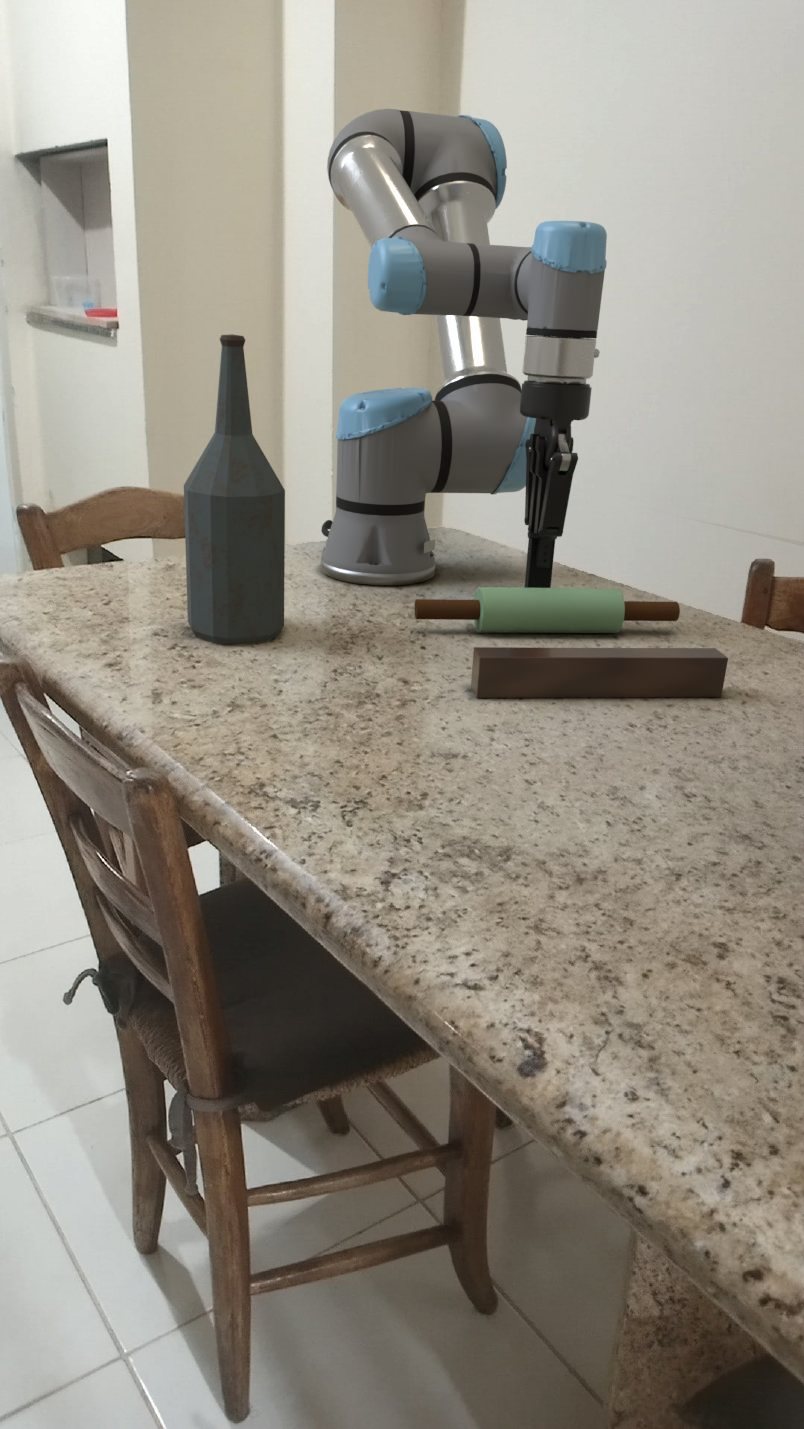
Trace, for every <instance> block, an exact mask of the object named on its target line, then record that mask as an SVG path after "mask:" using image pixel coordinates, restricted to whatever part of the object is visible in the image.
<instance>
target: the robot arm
mask: <svg viewBox="0 0 804 1429" xmlns="http://www.w3.org/2000/svg"><path fill="white" fill-rule="evenodd" d="M506 152H507V151H506V148H505V143H504V140H503V138H502V135H501V132H500V131H499V129H498V128H497V126H495V124H494V123H493V122H491V121H489V120H486V119H484V118H478V117H472V116H471V115H468V114H460V115H457V116H455V115H445V114H436V113H428V112H420V111H413V110H412V111H411V110H401V109H397V108H396V109H395V108H380V109H374V110H372V111H368V112H365V113H363V114H361V115H358V116H357V117H355V118H354V119H352V120H351V121H349V122H348V123H347V124H346V125H345V126H343V128H342V129H341V130H340V131H339V132H338V134H337V135H336V137H335V138H334V140H333V142H332V144H331V146H330V149H329V152H328V157H327V165H326V166H327V167H326V171H327V177H328V178H327V179H328V181H329V185H330V187H331V189H332V192H333V194H334V196H335V197H336V199H337V201H338V202H339V203H340V204H341V205H342V206H343V207H344V208H345V209H347V210H348V211H350V212H352V214H353V217H354V218H355V220H356V222H357V224H358V226H359V228H360V230H361V232H362V235H363V237H364V238H365V240H366V242H367V244H368V246H369V248H370V253H369V258H368V265H367V288H368V290H369V292H368V293H369V299H370V300H369V301H370V302H371V304H372V306H373V307H374V308H375V309H376V310H378V311H380V312H386V313H387V312H389V313H397V314H399V315H402V316H411V315H426V316H434V317H435V324H436V333H437V342H438V348H439V357H440V365H441V366H440V367H441V374H442V383H443V384H442V385H441V386H440V387H439V389H438V390H436V392H435V395H434V400H433V396H432V392H431V391H430V390H429V388H428V389H427V388H425V387H404V388H402V387H397V388H396V387H395V388H394V387H393V388H384V389H374V390H367V391H362V392H358V393H354V394H352V395H349V396H347V397H346V398H345V399H344V400H343V401H342V402H341V404H340V406H339V410H338V420H337V429H336V433H335V438H336V439H337V446H336V485H335V488H336V490H335V492H336V493H335V513H334V517H333V519H332V520H331V519H328V520H325V521H324V522H323V523H322V526H321V534H322V535H323V536H324V537H326V538H327V539H326V542H325V546H324V547H323V549H322V552H321V556H320V571H321V572H322V573H323V574H325V575H326V576H328V577H330V578H333V579H335V580H339V581H343V582H347V583H353V584H360V585H368V586H369V585H371V586H401V585H403V586H404V585H412V584H418V583H422V582H425V581H428V580H430V579H432V578H433V577H434V576H435V574H436V557H435V554H434V552H433V551H435V549H436V538H434V539H430V534H429V530H428V525H427V522H426V517H425V511H426V510H425V509H426V498H427V497H426V495H427V494H490V495H493V496H494V495H497V494H501V493H502V494H503V493H505V494H507V493H516V492H520V491H522V490H523V489H525V500H524V502H525V503H524V504H525V505H524V526H527V538H528V541H527V542H528V543H527V553H526V566H525V575H524V585H523V586H524V587H523V588H552V577H553V576H552V575H553V568H554V556H555V549H556V548H555V547H556V540H557V539H558V537H559V538H561V537H562V536H563V533H564V528H565V522H566V516H567V513H568V512H567V511H568V505H569V500H570V493H571V489H572V483H573V478H574V474H575V470H576V467H577V464H578V462H579V456H578V452H573V450H574V437H572V422H573V421H583V420H586V419H587V418H588V417H589V416H590V406H591V398H592V389H593V388H592V386H591V384H589V383H587V379H591V378H592V377H593V375H594V365H595V359H597V358H599V356H600V350H599V349H598V348H596V346H597V338H598V329H599V321H600V312H601V306H602V305H601V303H602V297H603V288H604V280H605V272H606V268H607V263H608V262H607V259H606V258H607V257H606V256H607V239H608V234H607V230H606V228H605V227H604V226H603V225H602V224H599V223H596V222H591V221H581V220H580V221H579V220H546V221H541V222H540V223H539V224H538V225H537V226H536V229H535V231H534V239H533V243H532V245H531V246H513V245H499V244H491V242H490V234H489V227H488V224H489V222H490V221H491V220H492V219H493V217H494V215H495V212H496V210H497V209H498V208H499V206H500V205H501V203H502V201H503V198H504V195H505V191H506V184H507V175H506V170H507V169H508V165H507V164H508V162H507V160H508V159H507V153H506ZM501 319H508V320H513V321H517V320H520V321H526V322H527V323H526V329H525V330H526V332H525V338H524V349H523V350H524V351H523V361H522V370H521V372H522V374H523V375H524V376H527V379H526V380H524V381H523V383H520V381H519V380H518V379H517V378H516V377H515V376H513V375H512V374H510V373H508V369H507V368H508V366H507V360H506V352H505V346H504V337H503V330H502V322H501Z"/></svg>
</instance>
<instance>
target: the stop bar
mask: <svg viewBox="0 0 804 1429" xmlns="http://www.w3.org/2000/svg"><path fill="white" fill-rule="evenodd" d="M472 652H473V654H472V665H471V679H470V689H471V690H472V692H473V693H474V696H475V697H476V699H543V698H545V699H547V698H549V699H550V698H551V699H552V698H553V699H557V698H558V699H559V698H560V699H561V698H563V699H564V698H565V699H567V698H570V699H571V698H572V699H573V698H574V699H575V698H581V699H582V698H583V699H585V698H589V699H590V698H592V699H593V698H594V699H595V698H596V699H597V698H722V696H723V690H724V684H725V679H726V672H727V668H728V662H729V657H727V656H726V655H725V654H724V653H722V652H721V651H720V650H718V648H716V647H523V646H522V647H520V646H519V647H518V646H517V647H513V646H512V647H509V646H507V647H504V646H503V647H502V646H501V647H496V646H494V647H493V646H489V647H488V646H484V647H483V646H479V647H477V646H474V647H473V651H472Z"/></svg>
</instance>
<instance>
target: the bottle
mask: <svg viewBox="0 0 804 1429" xmlns="http://www.w3.org/2000/svg"><path fill="white" fill-rule="evenodd" d="M219 342H220V345H221V351H220V362H219V364H220V365H219V374H218V375H219V376H218V377H219V378H218V389H217V400H216V413H215V424H214V433H213V435H212V436H211V437H210V440H209V441H208V443H207V445H206V446H205V448H204V450H203V452H202V453H201V455H200V457H199V458H198V460H197V462H196V463H195V465H194V467H193V468H192V470H191V472H190V473H189V475H188V477H187V479H186V480H185V482H184V484H183V506H184V507H183V508H184V509H183V510H184V538H185V539H184V540H185V541H184V542H185V544H184V545H185V571H186V572H185V574H186V607H187V622H188V624H189V627H190V630H191V631H192V632H193V634H194V637H195V638H196V639H197V638H198V639H199V640H204V641H207V642H210V643H214V644H217V645H219V644H220V645H226V646H227V645H229V646H231V645H249V644H250V645H251V644H260V643H263V642H264V643H265V642H268V641H270V640H272V639H273V638H275V637H276V636H278V635H279V634H280V633H281V632H282V630H283V628H284V626H285V565H286V564H285V563H286V562H285V556H286V555H285V554H286V551H285V550H286V549H285V548H286V545H285V542H286V539H285V538H286V531H285V530H286V490H285V488H284V486H283V483H282V482H281V481H280V479H279V477H278V476H277V474H276V472H275V471H274V468H273V467H272V465H271V463H270V462H269V460H268V459H267V456H266V455H265V454H264V452H263V450H262V448H261V446H260V445H259V442H258V441H257V440H256V438H255V436H254V434H253V426H252V417H251V416H252V415H251V408H250V399H249V397H250V396H249V388H248V378H247V368H246V360H245V358H246V357H245V350H244V349H245V348H244V346H245V344H246V338H245V336H243V335H239V334H221V335H220V337H219Z"/></svg>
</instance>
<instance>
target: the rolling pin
mask: <svg viewBox="0 0 804 1429" xmlns="http://www.w3.org/2000/svg"><path fill="white" fill-rule="evenodd" d="M680 614H681V607H680V604H679V602H678V601H652V600H651V601H648V600H647V601H645V600H644V601H643V600H642V601H641V600H640V601H637V600H636V601H635V600H631V601H630V600H625V599H624V594H623V592H622V590H621V589H620V588H599V587H598V588H597V587H596V588H594V587H593V588H591V587H550V588H524V587H509V586H508V587H507V586H506V587H505V586H499V587H497V586H479V587H477V588H476V591H475V595H474V599H439V598H436V599H435V598H430V599H429V598H428V599H427V598H426V599H425V598H424V599H423V598H417V599H415V601H414V618H415V620H440V621H441V620H442V621H443V620H445V621H448V620H450V621H451V620H452V621H453V620H457V621H459V620H460V621H461V620H462V621H463V620H465V621H471V620H472V621H474V627H475V631H477V633H494V634H495V633H498V634H499V633H502V634H503V633H507V634H510V633H514V634H518V633H519V634H521V633H522V634H525V633H526V634H529V633H530V634H618V633H619V632H620V631H621V630H622V628H623V625H624V622H677V621H678V620H679V618H680Z"/></svg>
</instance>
